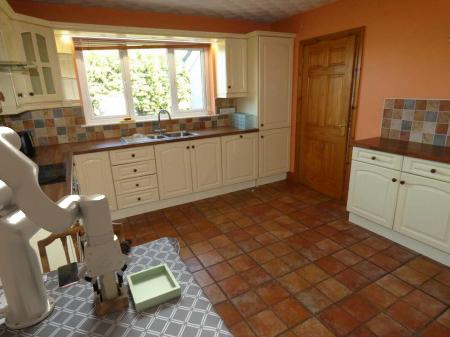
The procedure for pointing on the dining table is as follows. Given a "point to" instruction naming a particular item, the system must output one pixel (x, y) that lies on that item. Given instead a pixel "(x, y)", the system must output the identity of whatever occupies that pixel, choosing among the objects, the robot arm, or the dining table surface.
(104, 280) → the box
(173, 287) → the tray
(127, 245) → the bolt
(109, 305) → the frame
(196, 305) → the dining table surface
